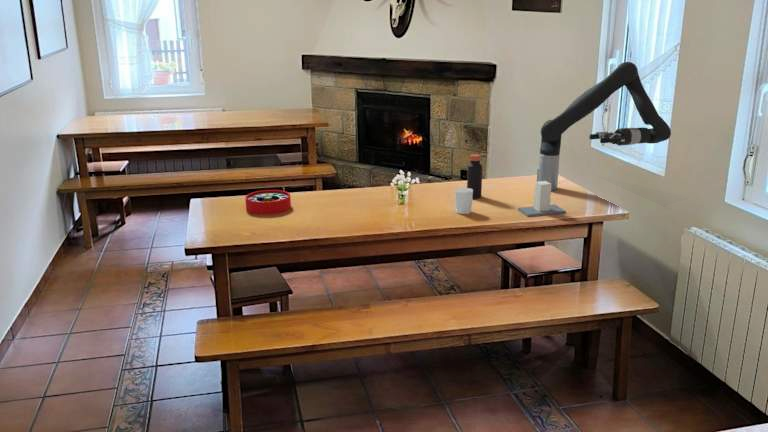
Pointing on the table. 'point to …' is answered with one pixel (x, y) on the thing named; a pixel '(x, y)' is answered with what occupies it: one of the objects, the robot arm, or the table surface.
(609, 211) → the table surface
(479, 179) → the bottle
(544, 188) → the block
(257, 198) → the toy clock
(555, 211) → the mat
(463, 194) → the white cup
